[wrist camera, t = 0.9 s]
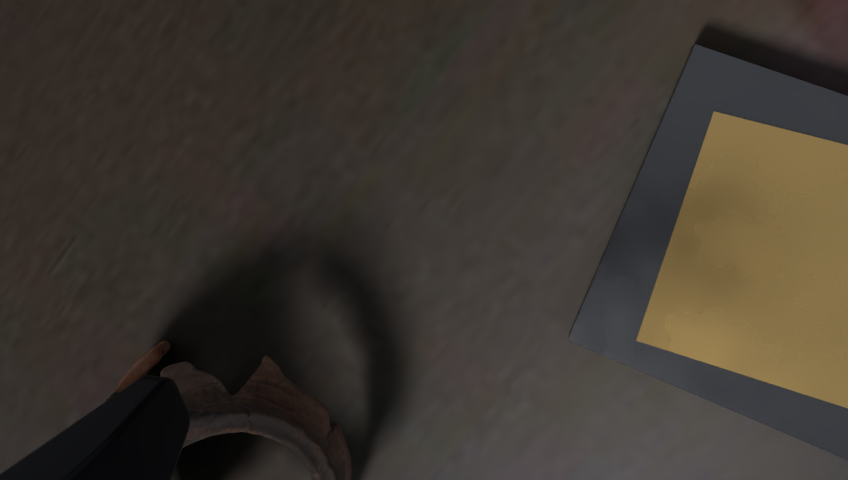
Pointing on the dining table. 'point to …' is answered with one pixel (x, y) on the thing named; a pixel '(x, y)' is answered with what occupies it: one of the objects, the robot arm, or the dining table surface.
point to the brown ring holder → (255, 411)
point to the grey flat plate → (736, 251)
